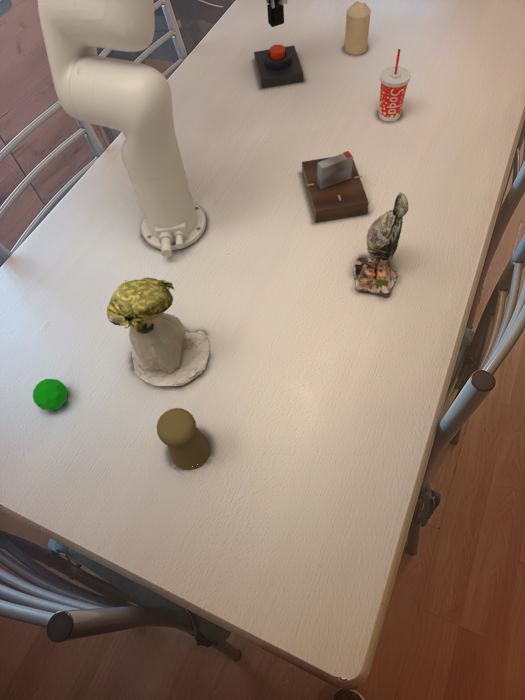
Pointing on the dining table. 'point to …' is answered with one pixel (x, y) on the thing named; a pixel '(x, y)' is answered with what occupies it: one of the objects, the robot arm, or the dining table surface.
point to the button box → (278, 68)
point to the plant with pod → (381, 251)
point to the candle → (357, 28)
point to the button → (277, 52)
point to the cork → (183, 439)
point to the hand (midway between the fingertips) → (276, 23)
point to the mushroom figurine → (157, 333)
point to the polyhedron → (50, 394)
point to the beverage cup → (392, 91)
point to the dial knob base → (334, 195)
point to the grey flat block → (334, 170)
